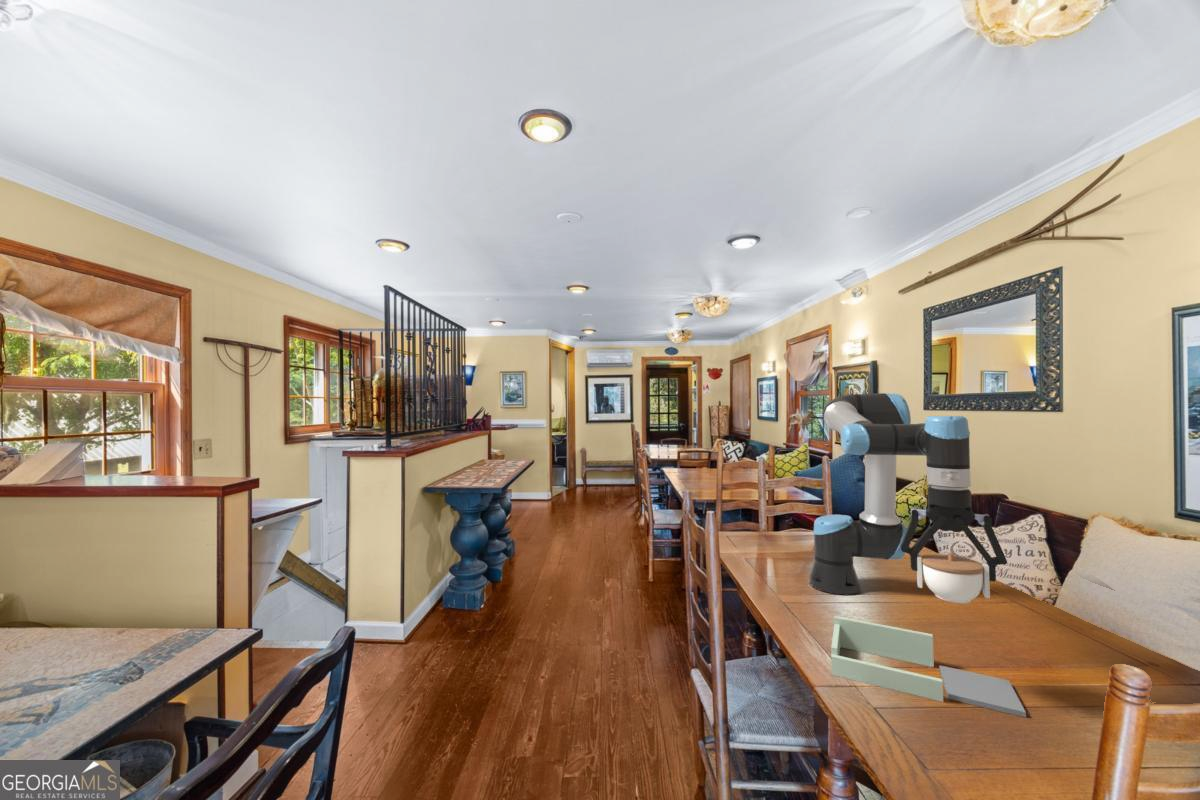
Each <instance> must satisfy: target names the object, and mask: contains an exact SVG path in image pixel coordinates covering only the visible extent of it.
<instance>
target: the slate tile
mask: <svg viewBox="0 0 1200 800" xmlns="http://www.w3.org/2000/svg"><path fill="white" fill-rule="evenodd" d="M938 667H939V671H940V675H941V679H942V681H943V688H944V689H945V693H946V696H947V697H946V698H947V699H948V700H952V701H957V702H960V703H965V704H968V705H973V706H976V707H981V708H985V709H988V710H993V711H997V712H1001V713H1005V714H1010V715H1014V716H1018V717H1023V718H1027V712H1026V710H1025V708H1024V706H1023V704H1022V702H1021V701H1020V698H1019V697H1018V695H1017V693H1016V691H1015V690H1014V687H1013V686H1012V684H1011V682H1010V680H1009V679H1006V678H999V677H995V676H991V675H986V674H981V673H978V672H971V671H968V670H963V669H958V668H955V667H954V668H953V667H949V666H946V665H945V666H944V665H939V666H938Z"/></svg>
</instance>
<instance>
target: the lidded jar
mask: <svg viewBox="0 0 1200 800" xmlns="http://www.w3.org/2000/svg"><path fill="white" fill-rule="evenodd" d="M921 559H922V578H923V581H924V582H925V584H926V586H927V587H928V589H929V590H930V591H931V592H933V594H934V595H935V597H936V598H938V599H941V600H943V601H946V602H951V603H954V604H968V603H971V601H972V600H973V599H975V598H977V597H978V596H979V595H980V593H981V591H982V590H983V571H984V567H983V565H982V562H978V561H977V560H974V559H971V558H968V557H963V556H958V555H955V553H953V552H947V554H945V553H928V554H923V555H921Z"/></svg>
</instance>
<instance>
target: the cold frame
mask: <svg viewBox="0 0 1200 800" xmlns="http://www.w3.org/2000/svg"><path fill="white" fill-rule="evenodd" d="M833 618H834V619H833V621H834V622H833V623H834V625H833V632H832V639H831V647H830V650H831V651H830V652H831V655H830V662H831V663H830V667H831V668H830V670H831V671H830V672H831V673H830V674H831V676H835V677H841V678H843V679H849V680H852V681H857V682H860V683H865V684H869V685H873V686H877V687H880V688H884V689H888V690H892V691H897V692H900V693H901V692H902V693H904V694H908V695H914V696H916V697H920V698H926V699H929V700H933V701H937V702H941V703H944V683H943V680H942V678H939V677H934V676H930V675H926V674H921V673H918V672H913V671H907V670H904V669H900V668H895V667H891V666H886V665H882V664H877V663H873V662H868V661H864V660H859V659H855V658H851V657H846V656H842V655H840V654H841V648H844V649H848V650H853V651H857V652H862V653H866V654H871V655H875V656H879V657H885V658H890V659H894V660H898V661H902V662H903V661H904V662H907V663H910V664H911V663H913V664H917V665H921V666H926V667H929V668H930V667H931V668H934V667H935V662H934V636H933V633H927V632H923V631H916V630H911V629H908V628H902V627H896V626H891V625H885V624H881V623H880V624H879V623H875V622H869V621H866V620H865V621H864V620H859V619H852V618H850V617H849V618H848V617H843V616H838V615H834V616H833Z"/></svg>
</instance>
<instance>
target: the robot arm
mask: <svg viewBox="0 0 1200 800" xmlns="http://www.w3.org/2000/svg"><path fill="white" fill-rule="evenodd" d="M822 420H823V422H824V424H825V425H826V426H827V427H828V428H829V429H830V430H832V431H834V432H835V431H836V432H838V434H840V446H841V449H842V451H843V452H844V453H845V454H847V455H857V456H864V457H865V458H864V511H862V512H860V513H859V517H858V519H859V520H854V519H853V518H852V516H850V515H846V514H826V515H822V516H819V517H817V518H816V519H815V520H814V522H813V538H814V539H813V541H814V542H813V545H814V551H813V553H814V554H813V555H814V562H813V564H812V568H811V571H810V573H809V576H808V577H809V584H810V583H811V584H812V585H813V586H814V587H816V588H818V589H820V590H823V591H826V592H825V593H827V592H829V594H832V593H835V594H834V595H839V594H844V596H845V595H846V596H848V595H849V594H851V595H856V594H859V592H861V582H860V580H859V576H858V574H857V572H856V569H855V567H854V558H866V559H867V558H868V559H879V560H880V559H881V560H885V561H888V560H901V559H902V558H903V557H904V556H905V555H906V554H907V555H909V556H910V569H911V570H912V571H916V580H917V584H916V585H917V588H920V589H922V588H923V573H922V559H921V556H922V555H921V554H920V553H921V551H922V550H923V549H924V547H925V546H926V545H927V543H928V542H929V541H930V540H931V539H932V538H933V536H934V535H935V534H936V533H937V532H938V531H939V530H940V531H943V532H949V531H950V532H954V533H960V532H963V533H964V534H965V535H966V537H968V540H969V541H970V542H971V543H972V544H973V546H974V547H975V549H976V550H977V551H978V552H979V554H980V555H981V556H982V557H983V559H984V560H985V561H986V562H983V561H981V564H982V565H983V567H984V571H983V585H982V595H983V596H984V598H985V599H991V589H990V587H991V585H990V582H996V580H997V578H996V577H997V573H996V572H997V571H996V569H997V566H999V565H1007V563H1008V559H1007V558H1006V555H1005V553H1004V551H1003V549H1002V547H1001V545H1000V542H999V541H998V540H999V539H998V538H997V535H996V532H995V531H994V529H993V519H992V516H990V515H989V514H988V513H983V514H978V513H974V512H973V509H972V508H973V507H972V491H971V490H970V489H969V488H970V487H971V485H972V484H971V483H972V482H971V464H970V463H971V457H970V456H971V454H970V452H971V451H970V437H971V436H970V435H971V433H970V429H969V420H968V419H967V418H966V417H965V416H962V415H931V416H928V417H926V418H925V422H924V423H911V422H912V421H911V411H910V407H909V405H908V402H907V401H906V399H905V397H904V396H902V395H901V394H898V393H889V392H888V393H887V392H883V393H881V392H880V393H859V394H858V393H856V394H854V393H849V394H844V395H840V396H838V397H835V398H833V399H831V400H829V401H828V402H827V404H825V406H824V407H823V411H822ZM897 456H921V457H922V456H924V457H926V483H927V484H928V485H929V486H928V487H927V488H926V489H927V507H926V509H917V508H915V507H912V508H911V509H910V516H911V518H910V520H909V522H908V526H906V524H904V523H902V520H901V518H900V517H899V516H898V515H896V506H897V505H896V502H897V501H896V498H897V497H896V496H897V495H896V494H897V493H896V492H897ZM924 516H927V518H928V519H929V520H930V521H931V522H930V523H929V524H928V526H927V528H925V530H924V531H923V533H922V534H921V536H920V537H919V538H918V539H917V541H915V543H914V544H913V546H910V545H911V543H912V540H913V537H914V536H915V533H916V529H917V527H918V524H919V521H920V520H922V519H923V517H924ZM974 520H976V521H977V523H978V524H979V525H981V526H982V528H983V531H984V533H985V534H986V537H987V538H988V542H989V545H990V546H991V548H992V551H993V553H994V555H995V556H991V554H990V553H989V552H988V551H987V549H986V548H985V547H984V546H983V544H982V543H981V542H980V541H979V539H978V538H977V537H976V535H975V534H974V533H973V531H972V530H971V529H970V528H969V526H970V525H971V524H972V523H973V521H974ZM814 587H813V588H814ZM816 588H815V589H816ZM818 589H817V590H818ZM820 590H819V591H820ZM823 591H822V592H823ZM855 593H856V594H855ZM849 596H850V595H849Z"/></svg>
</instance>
